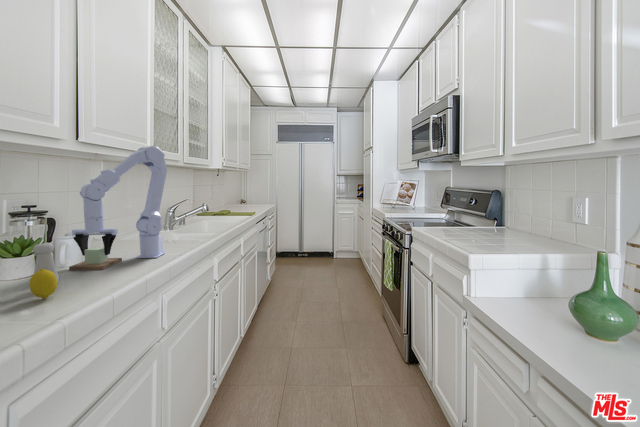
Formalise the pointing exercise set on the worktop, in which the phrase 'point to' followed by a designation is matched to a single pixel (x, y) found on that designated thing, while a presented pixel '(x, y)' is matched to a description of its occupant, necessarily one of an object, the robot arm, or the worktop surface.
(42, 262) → the salt shaker
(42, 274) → the lemon
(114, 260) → the cutting board
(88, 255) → the green cube
